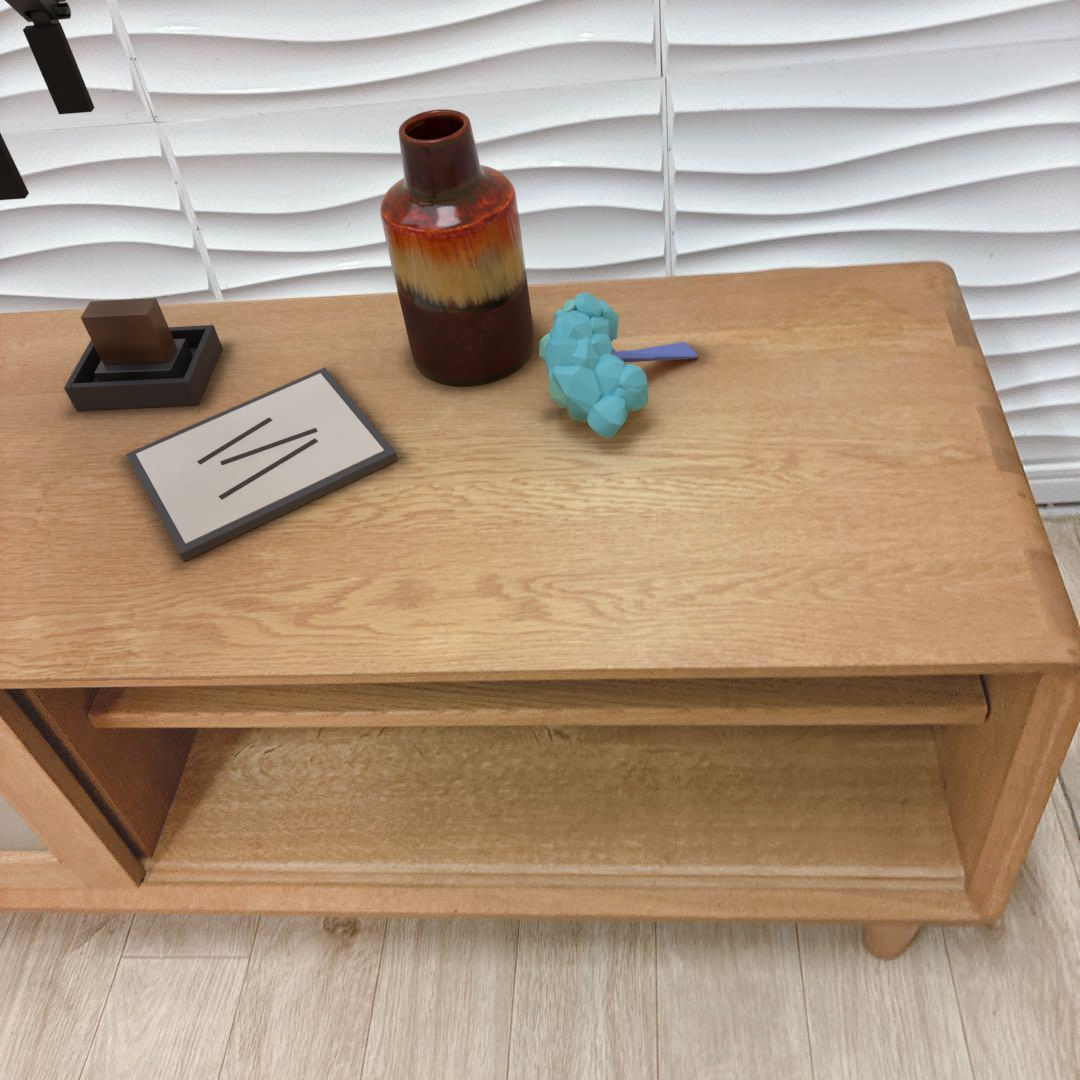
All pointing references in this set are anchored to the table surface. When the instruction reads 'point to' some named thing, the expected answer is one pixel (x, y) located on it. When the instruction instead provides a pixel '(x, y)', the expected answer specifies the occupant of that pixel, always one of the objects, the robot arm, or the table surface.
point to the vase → (457, 255)
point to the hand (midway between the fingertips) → (45, 152)
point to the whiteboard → (258, 461)
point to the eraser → (134, 341)
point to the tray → (147, 392)
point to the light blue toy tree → (597, 365)
